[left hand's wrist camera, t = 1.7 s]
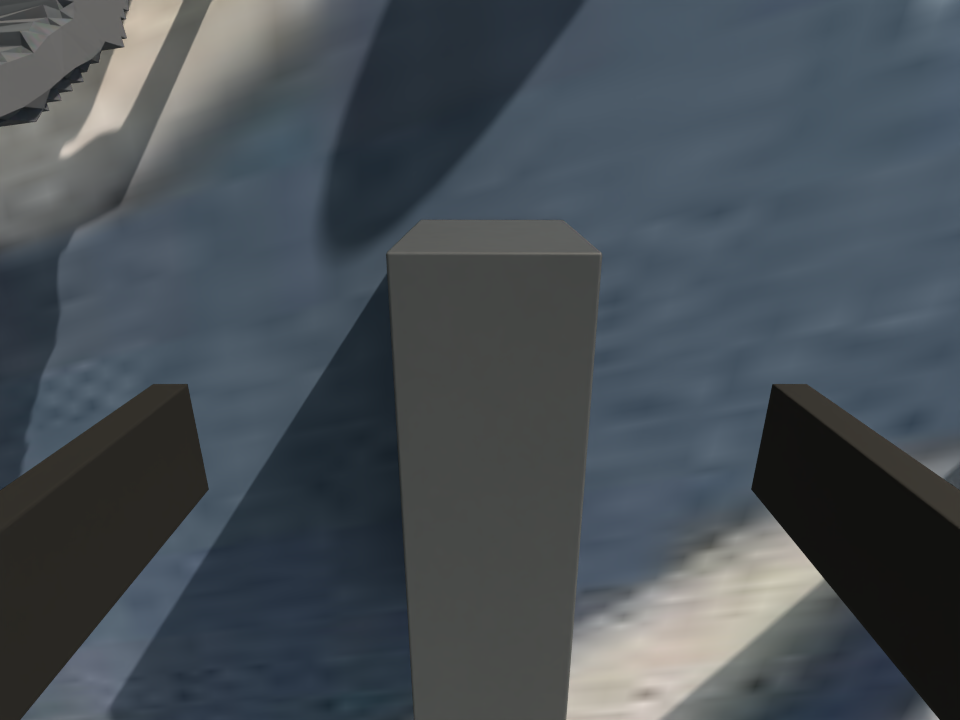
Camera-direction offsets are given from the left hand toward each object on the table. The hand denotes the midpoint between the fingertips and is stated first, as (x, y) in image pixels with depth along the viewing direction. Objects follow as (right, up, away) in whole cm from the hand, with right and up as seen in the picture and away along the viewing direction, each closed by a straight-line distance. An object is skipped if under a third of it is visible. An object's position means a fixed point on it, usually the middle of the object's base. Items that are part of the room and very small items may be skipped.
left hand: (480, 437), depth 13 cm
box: (0, -2, +15) cm, 15 cm away
